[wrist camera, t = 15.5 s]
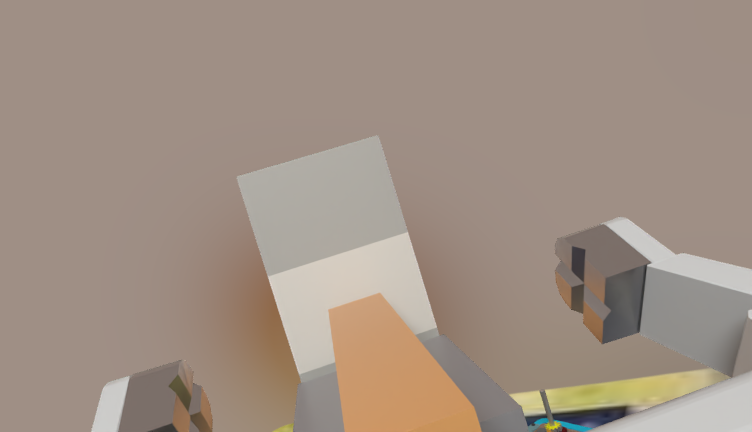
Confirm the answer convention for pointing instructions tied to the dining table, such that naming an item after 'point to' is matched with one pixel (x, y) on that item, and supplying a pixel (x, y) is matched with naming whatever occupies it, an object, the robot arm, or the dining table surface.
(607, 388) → the dining table surface
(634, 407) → the dining table surface
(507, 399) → the grey box
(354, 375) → the orange block
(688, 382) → the dining table surface
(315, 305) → the tall tower
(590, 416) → the dining table surface
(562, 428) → the gear mechanism
